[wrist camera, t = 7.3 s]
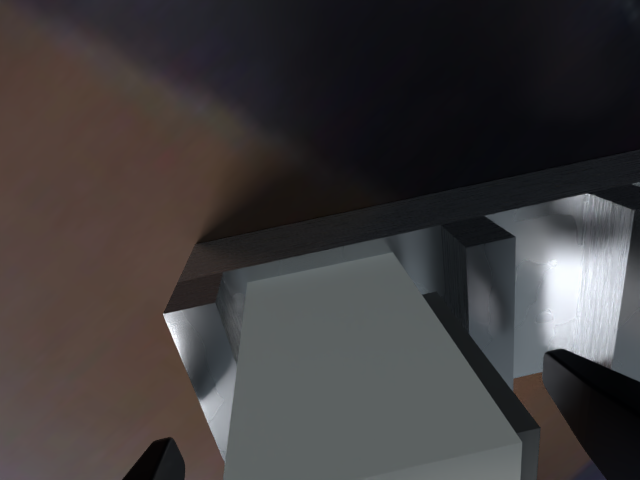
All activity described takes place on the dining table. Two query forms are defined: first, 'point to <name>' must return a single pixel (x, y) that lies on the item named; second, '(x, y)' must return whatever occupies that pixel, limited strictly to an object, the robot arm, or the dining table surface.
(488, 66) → the dining table surface
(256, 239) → the rail
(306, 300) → the matte gray box
